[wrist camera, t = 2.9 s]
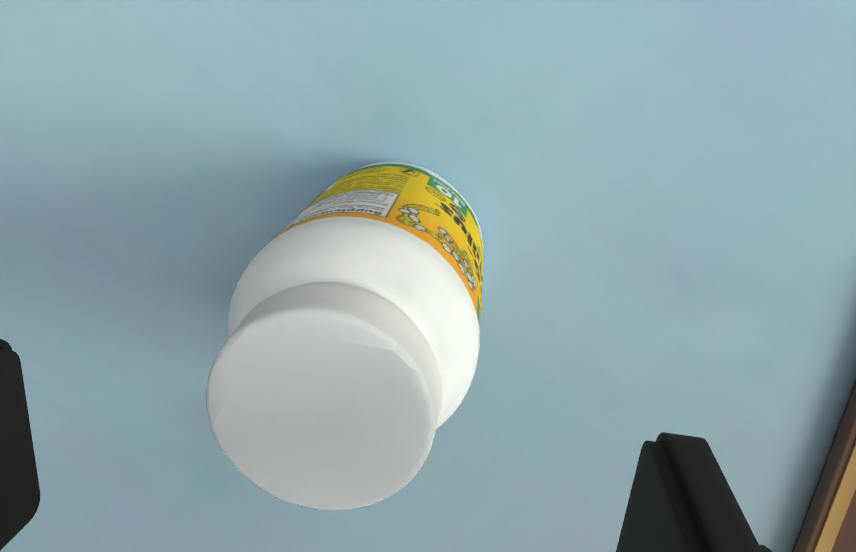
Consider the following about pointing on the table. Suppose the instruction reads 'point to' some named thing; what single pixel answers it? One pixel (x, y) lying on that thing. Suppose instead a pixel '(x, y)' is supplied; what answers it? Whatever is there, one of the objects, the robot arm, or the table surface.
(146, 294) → the table surface
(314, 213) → the supplement bottle
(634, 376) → the table surface
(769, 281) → the table surface
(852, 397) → the walnut ruler
